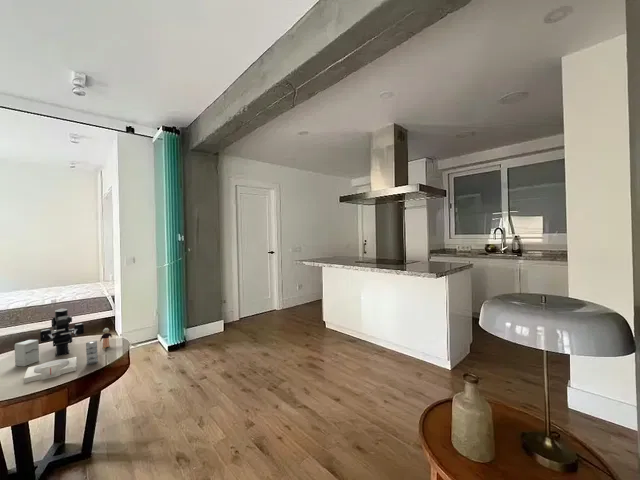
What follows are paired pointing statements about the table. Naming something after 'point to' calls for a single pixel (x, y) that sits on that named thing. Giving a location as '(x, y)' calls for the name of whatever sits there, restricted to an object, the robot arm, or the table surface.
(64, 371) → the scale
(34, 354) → the supplement box
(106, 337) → the grandmother figurine
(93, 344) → the steel spacer stack
